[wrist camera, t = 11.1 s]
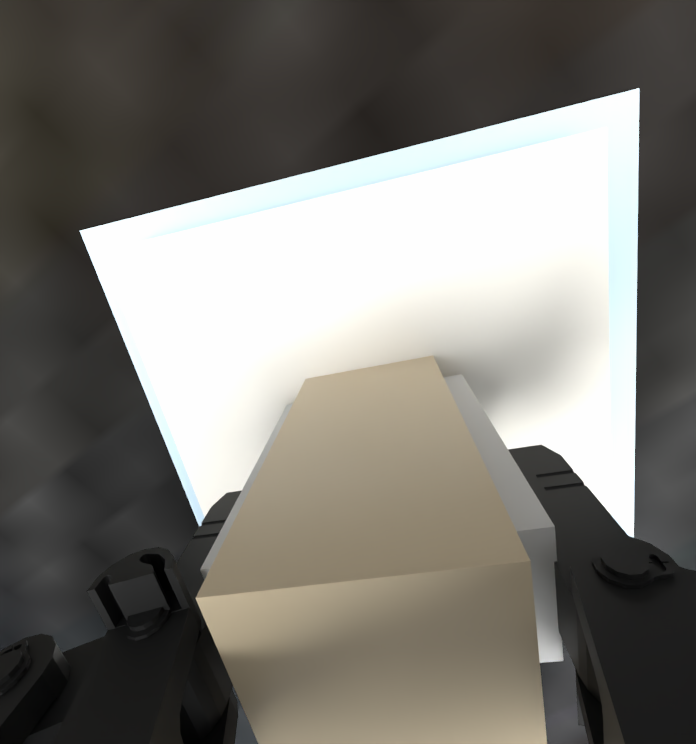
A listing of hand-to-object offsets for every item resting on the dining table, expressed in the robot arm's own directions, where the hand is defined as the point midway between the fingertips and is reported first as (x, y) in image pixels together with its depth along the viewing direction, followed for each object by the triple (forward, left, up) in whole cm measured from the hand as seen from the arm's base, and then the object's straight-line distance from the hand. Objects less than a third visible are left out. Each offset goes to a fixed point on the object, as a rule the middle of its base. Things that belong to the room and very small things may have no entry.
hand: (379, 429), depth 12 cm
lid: (0, 0, -1) cm, 1 cm away
